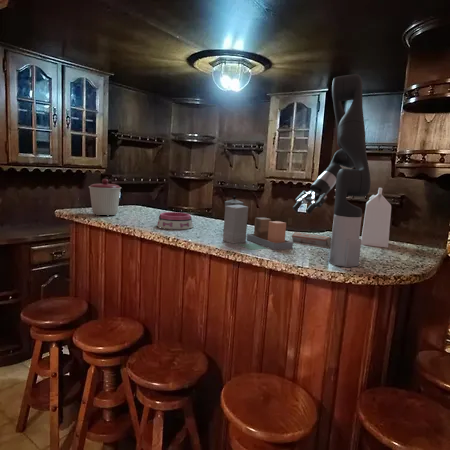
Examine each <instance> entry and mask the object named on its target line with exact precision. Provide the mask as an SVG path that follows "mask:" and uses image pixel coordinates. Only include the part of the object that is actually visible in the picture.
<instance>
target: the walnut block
mask: <svg viewBox="0 0 450 450" xmlns="http://www.w3.org/2000/svg"><path fill="white" fill-rule="evenodd" d="M269 221H272V219H271V218H269V217H268V218H267V217H254V227H253V229H254V230H253V231H254V232H253V234H254V236H256V237H259V238H262V239H264V240H267V241H268V228H269Z"/></svg>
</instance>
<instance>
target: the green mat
mask: <svg viewBox="0 0 450 450" xmlns="http://www.w3.org/2000/svg"><path fill="white" fill-rule="evenodd" d="M237 246H240V247H243V248H245V249H248V250H250V251H255V250H268V247H265V246H262V245H260V244H257V243H239V244H238V243H237Z"/></svg>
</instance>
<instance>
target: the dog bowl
mask: <svg viewBox="0 0 450 450" xmlns="http://www.w3.org/2000/svg"><path fill="white" fill-rule="evenodd" d="M191 215H192V214H190V213H188V212H187V213H185V212H178V211H177V212H176V211H167V212H161V213H159V217H158V220H157V224H156V227H157V226H158V227H161V228H165V229H164V230H168V229H173V230H172V231H185V230H191V229H194V226H193V219H192V216H191ZM158 227H157V228H158ZM161 228H160V229H161Z"/></svg>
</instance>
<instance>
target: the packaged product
mask: <svg viewBox="0 0 450 450" xmlns="http://www.w3.org/2000/svg"><path fill="white" fill-rule="evenodd" d="M331 238H332V236H331V237H330V236H327V235H326V236H325V235H320V234H313V233H307V232H306V233H305V232H298V231H295V232H293V234H291V238H290V239H289V240H288V239H287V241H290V242H293V244H297V245H303V246H304V245H306V246H310V247H318V248H322V249H323V248H324V249H329V248H331Z"/></svg>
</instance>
